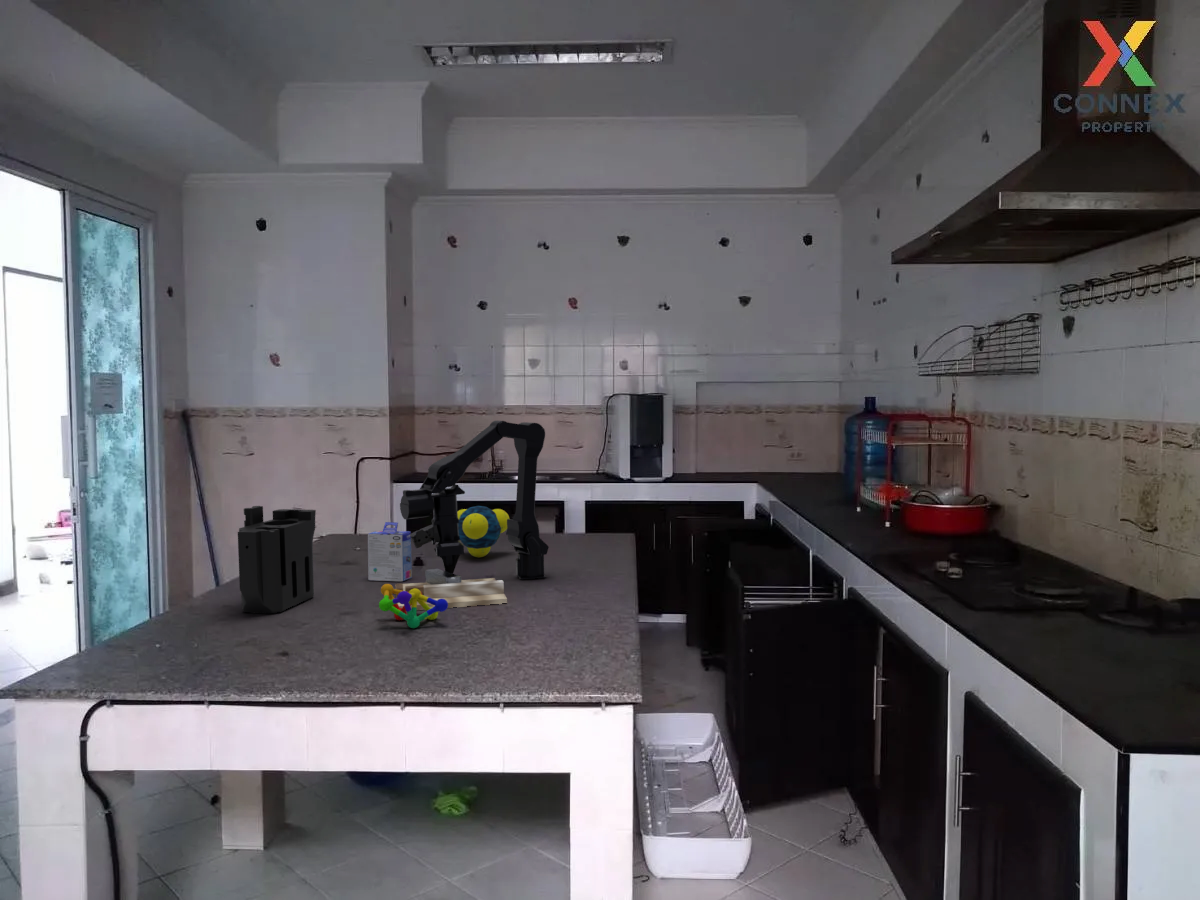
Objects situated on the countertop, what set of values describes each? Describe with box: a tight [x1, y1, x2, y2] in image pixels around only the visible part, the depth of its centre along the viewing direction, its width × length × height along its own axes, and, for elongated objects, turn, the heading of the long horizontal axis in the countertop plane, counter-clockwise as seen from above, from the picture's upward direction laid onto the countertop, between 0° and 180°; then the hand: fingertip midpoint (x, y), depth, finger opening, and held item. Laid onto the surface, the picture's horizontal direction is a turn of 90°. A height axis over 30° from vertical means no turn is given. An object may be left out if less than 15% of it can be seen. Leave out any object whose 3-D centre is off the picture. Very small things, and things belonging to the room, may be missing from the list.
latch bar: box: [424, 568, 462, 585], centre depth 199 cm, size 13×4×3 cm, turn 39°
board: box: [394, 577, 508, 611], centre depth 196 cm, size 24×22×4 cm
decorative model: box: [378, 583, 449, 629], centre depth 173 cm, size 13×9×15 cm
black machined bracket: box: [237, 505, 317, 614], centre depth 188 cm, size 12×21×22 cm, turn 169°
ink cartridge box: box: [367, 521, 413, 582], centre depth 214 cm, size 10×6×14 cm, turn 78°
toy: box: [457, 505, 510, 558], centre depth 241 cm, size 16×17×15 cm
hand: (449, 578), depth 203 cm, fingers closed
